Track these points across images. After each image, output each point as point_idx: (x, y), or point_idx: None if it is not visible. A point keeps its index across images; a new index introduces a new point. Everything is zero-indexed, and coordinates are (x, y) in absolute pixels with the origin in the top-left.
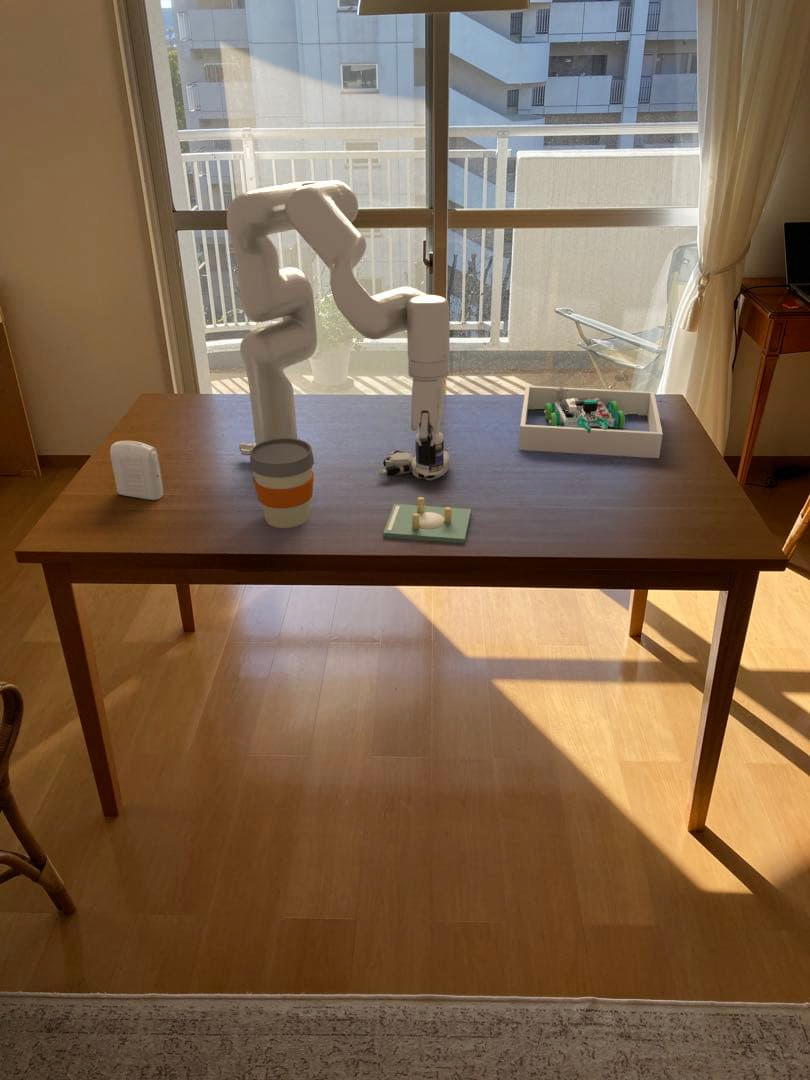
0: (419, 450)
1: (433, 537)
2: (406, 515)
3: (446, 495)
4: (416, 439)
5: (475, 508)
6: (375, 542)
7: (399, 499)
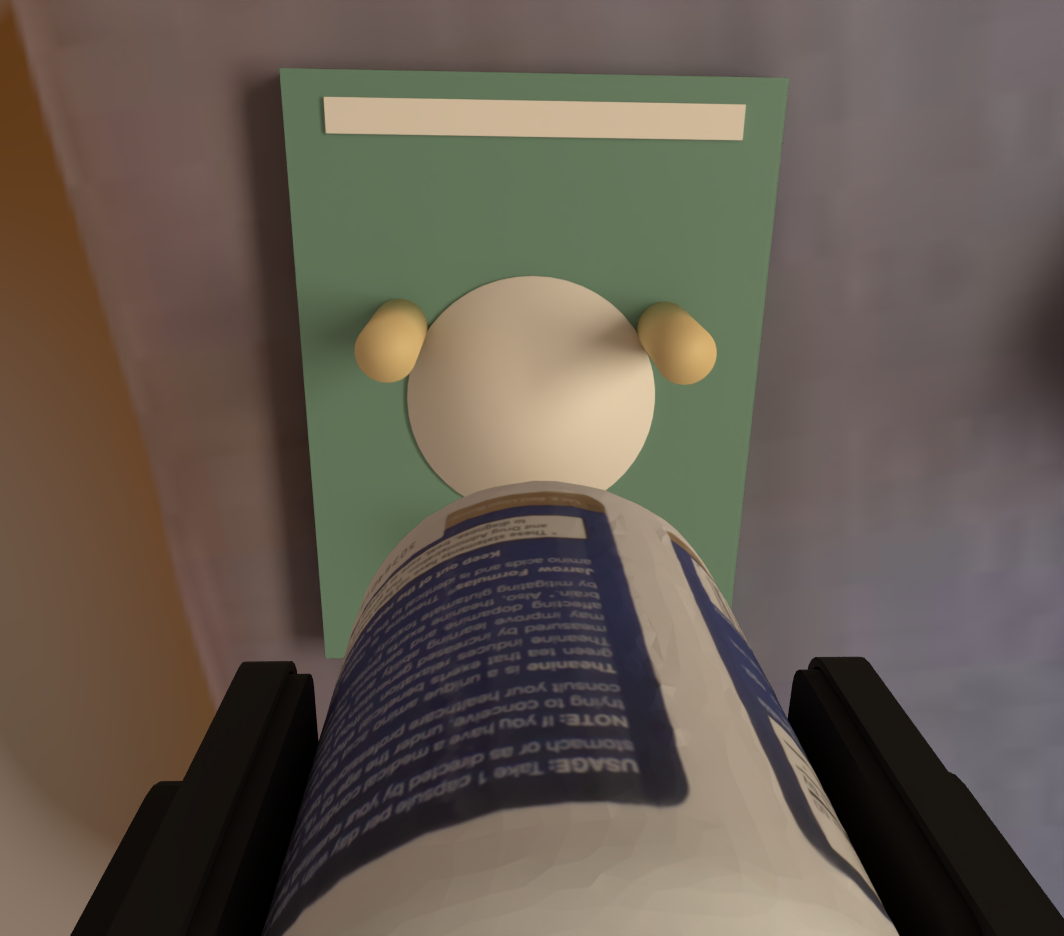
0: (162, 858)
1: (312, 464)
2: (591, 222)
3: (976, 461)
4: (381, 907)
5: (787, 657)
6: (195, 16)
7: (925, 102)
